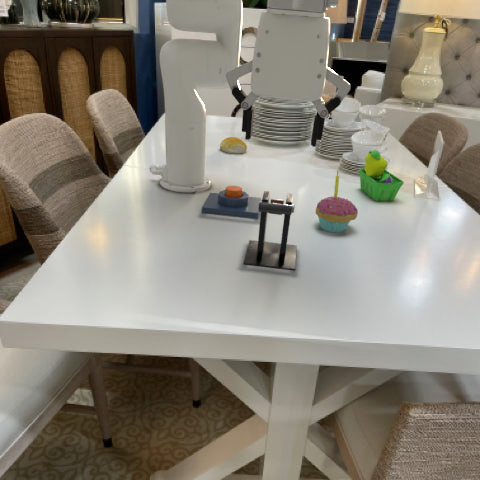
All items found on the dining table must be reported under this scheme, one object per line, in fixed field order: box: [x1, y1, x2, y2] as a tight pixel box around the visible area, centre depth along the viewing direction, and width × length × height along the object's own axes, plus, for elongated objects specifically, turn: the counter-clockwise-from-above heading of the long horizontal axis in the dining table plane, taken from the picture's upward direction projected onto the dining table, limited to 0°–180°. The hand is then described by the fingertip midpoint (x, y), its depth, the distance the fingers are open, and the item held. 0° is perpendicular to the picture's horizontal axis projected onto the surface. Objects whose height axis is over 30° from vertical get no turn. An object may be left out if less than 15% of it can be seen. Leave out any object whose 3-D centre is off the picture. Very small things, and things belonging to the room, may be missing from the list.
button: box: [225, 185, 243, 198], centre depth 102 cm, size 4×4×2 cm
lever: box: [258, 198, 293, 216], centre depth 76 cm, size 12×5×2 cm, turn 173°
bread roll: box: [219, 136, 248, 155], centre depth 149 cm, size 8×9×4 cm
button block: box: [201, 189, 263, 220], centre depth 104 cm, size 12×10×4 cm
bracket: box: [243, 190, 298, 271], centre depth 83 cm, size 10×9×12 cm
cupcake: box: [315, 171, 359, 233], centre depth 96 cm, size 9×8×12 cm
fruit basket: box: [358, 149, 405, 202], centre depth 119 cm, size 11×9×11 cm
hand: (280, 141), depth 70 cm, fingers open, 9 cm apart
